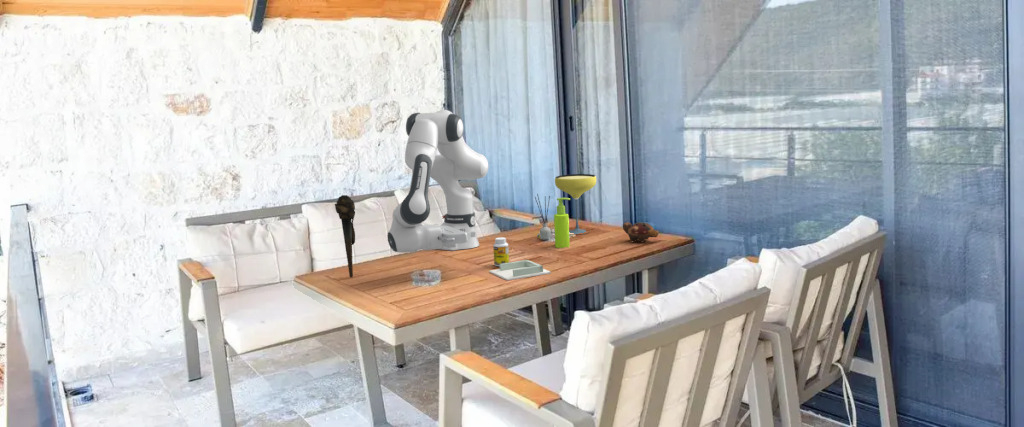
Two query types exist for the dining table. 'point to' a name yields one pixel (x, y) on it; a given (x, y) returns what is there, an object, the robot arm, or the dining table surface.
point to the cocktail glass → (575, 189)
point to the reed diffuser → (544, 224)
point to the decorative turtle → (639, 231)
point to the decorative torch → (347, 225)
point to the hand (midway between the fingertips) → (469, 232)
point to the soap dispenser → (561, 225)
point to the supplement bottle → (500, 251)
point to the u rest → (519, 270)
